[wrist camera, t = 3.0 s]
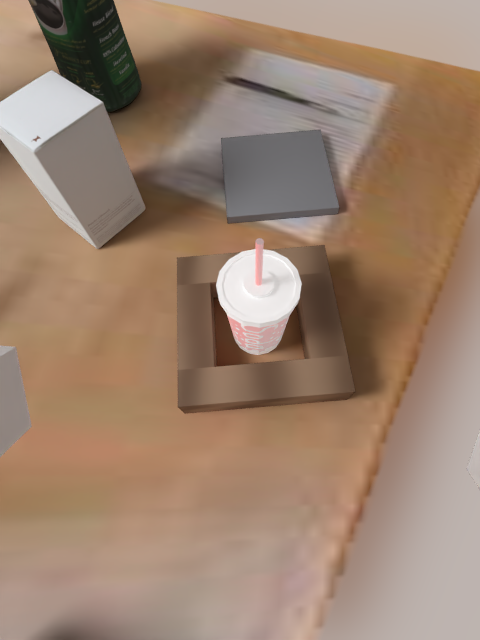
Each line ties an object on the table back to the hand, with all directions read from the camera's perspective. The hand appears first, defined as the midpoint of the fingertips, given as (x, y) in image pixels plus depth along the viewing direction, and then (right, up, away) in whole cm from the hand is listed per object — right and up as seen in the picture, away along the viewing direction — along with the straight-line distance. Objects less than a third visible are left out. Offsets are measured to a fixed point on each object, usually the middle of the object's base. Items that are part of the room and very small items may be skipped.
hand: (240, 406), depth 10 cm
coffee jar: (-18, +33, +39) cm, 55 cm away
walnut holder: (+2, +1, +24) cm, 24 cm away
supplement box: (-16, +14, +31) cm, 37 cm away
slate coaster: (+4, +19, +32) cm, 37 cm away
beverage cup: (+2, +1, +24) cm, 24 cm away
